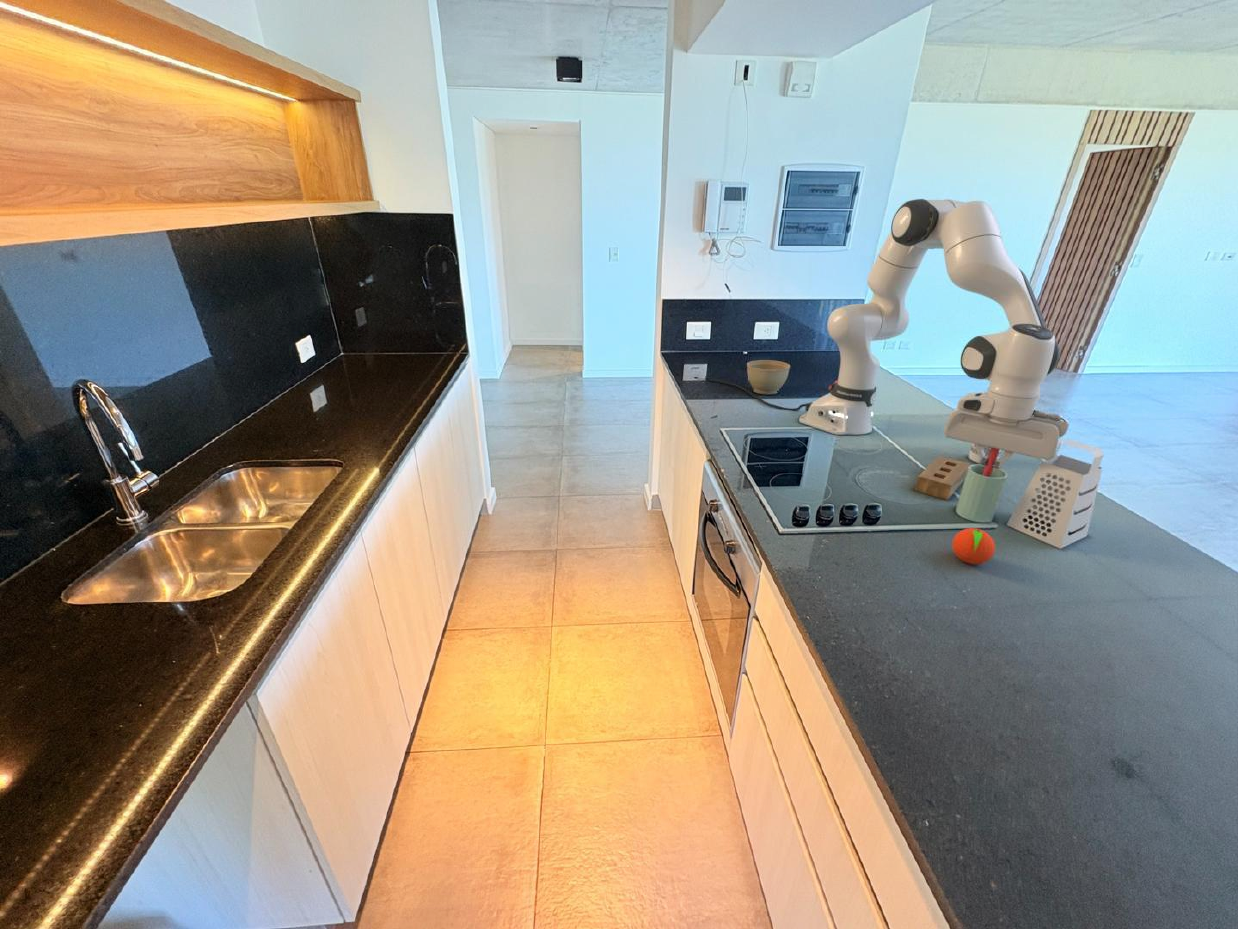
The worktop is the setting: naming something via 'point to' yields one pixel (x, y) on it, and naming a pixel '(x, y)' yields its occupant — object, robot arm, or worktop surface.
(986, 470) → the straw
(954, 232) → the robot arm
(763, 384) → the planter bowl
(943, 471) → the block
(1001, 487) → the cup
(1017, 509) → the grater
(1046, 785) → the worktop surface
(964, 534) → the clementine
